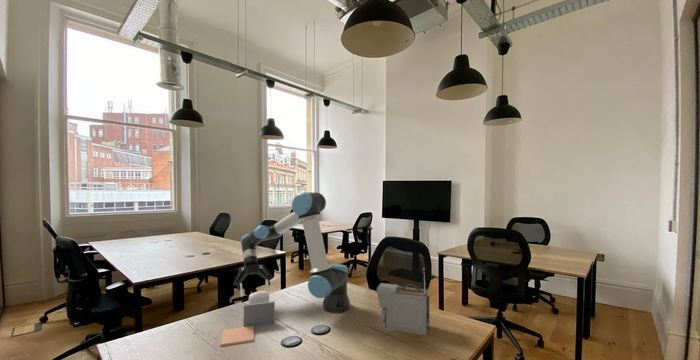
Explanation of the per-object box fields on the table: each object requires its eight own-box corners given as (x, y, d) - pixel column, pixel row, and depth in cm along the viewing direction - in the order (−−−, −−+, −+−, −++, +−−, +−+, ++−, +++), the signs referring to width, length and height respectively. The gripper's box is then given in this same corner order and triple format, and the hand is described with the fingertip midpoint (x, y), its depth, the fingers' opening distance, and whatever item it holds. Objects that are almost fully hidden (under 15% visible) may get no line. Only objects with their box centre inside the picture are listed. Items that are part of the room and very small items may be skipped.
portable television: (381, 318, 145) (381, 258, 146) (430, 325, 137) (429, 262, 138) (375, 328, 133) (375, 263, 135) (428, 337, 125) (427, 268, 127)
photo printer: (267, 312, 151) (267, 288, 151) (269, 315, 147) (270, 291, 148) (247, 317, 145) (247, 292, 146) (249, 320, 142) (249, 294, 142)
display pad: (253, 327, 134) (253, 325, 134) (253, 341, 122) (253, 339, 122) (223, 331, 130) (223, 329, 130) (220, 346, 118) (220, 344, 118)
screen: (274, 322, 140) (274, 301, 140) (274, 323, 138) (274, 302, 139) (243, 326, 135) (243, 304, 136) (243, 327, 134) (243, 305, 134)
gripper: (270, 260, 173) (277, 293, 159) (226, 265, 161) (229, 301, 147) (273, 252, 169) (280, 286, 155) (227, 257, 156) (230, 294, 143)
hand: (255, 293), depth 151 cm, fingers open, 13 cm apart
